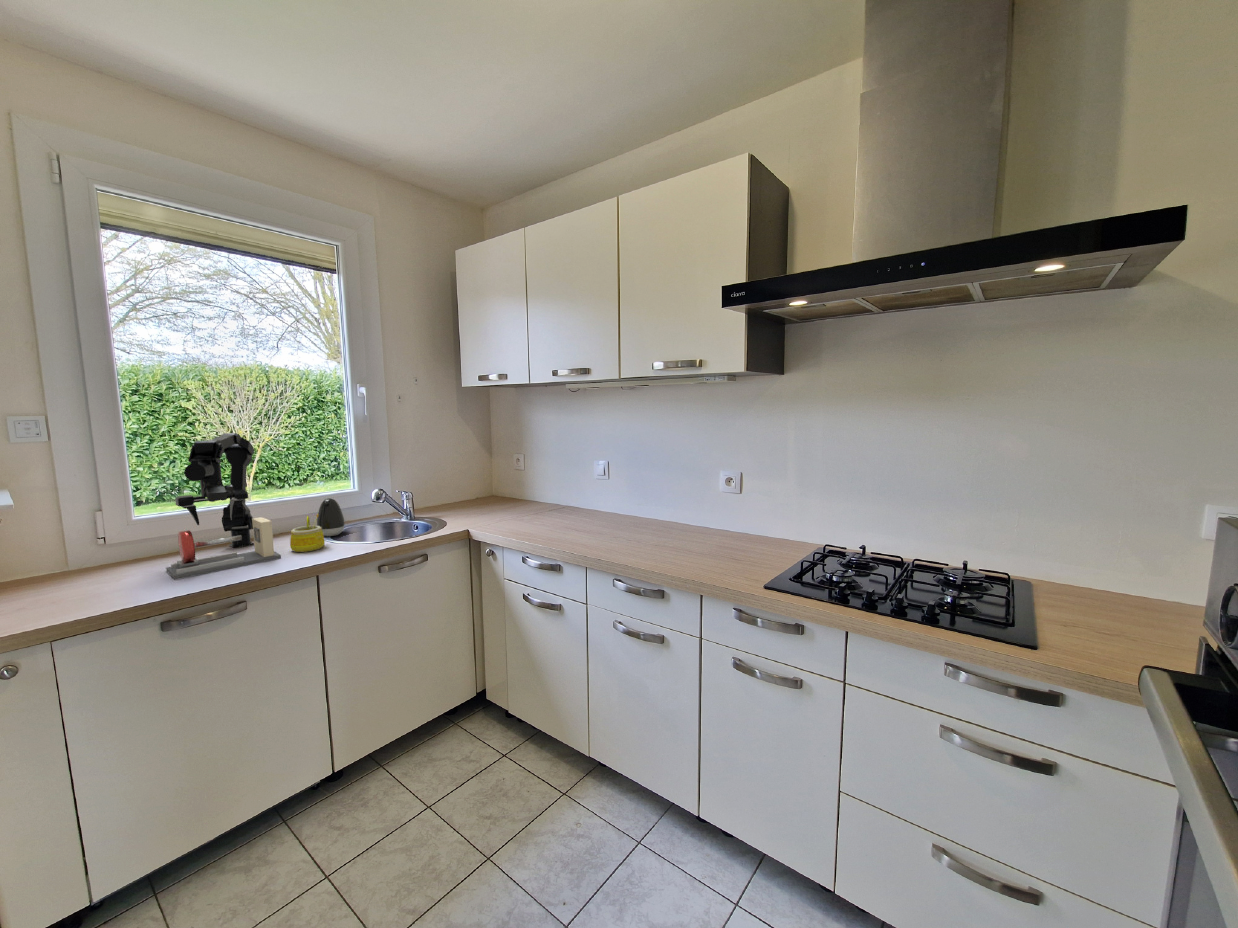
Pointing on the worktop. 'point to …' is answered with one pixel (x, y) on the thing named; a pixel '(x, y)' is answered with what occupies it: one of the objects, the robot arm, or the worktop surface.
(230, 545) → the robot arm
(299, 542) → the yellow birthday cake
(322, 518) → the dark grey tall dome
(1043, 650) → the worktop surface
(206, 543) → the red wheel on axle
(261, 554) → the block
